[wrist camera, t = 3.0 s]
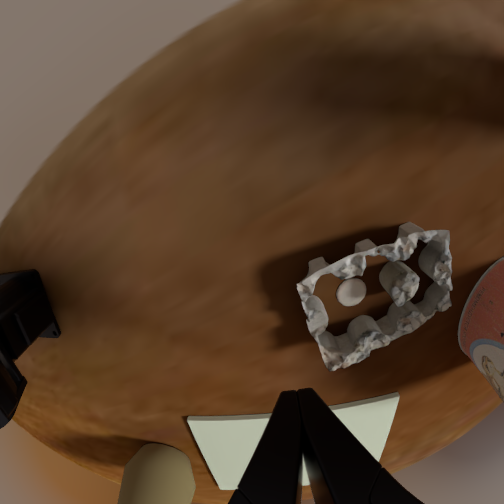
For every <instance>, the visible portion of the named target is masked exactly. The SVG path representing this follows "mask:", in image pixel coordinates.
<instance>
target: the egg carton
mask: <svg viewBox="0 0 504 504" xmlns="http://www.w3.org/2000/svg"><path fill="white" fill-rule="evenodd" d="M417 239H420V240H422V241H423V242H425V243H427V242H428V244H427V246H426V247H425V248H424V249H423V250H422V252H421V254H420V256H419V260H418V264H419V267H420V269H421V270H422V271H423V272H425V273H426V274H427V275H428V276H429V277H431V278H432V279H433V280H434V283H433V284H432V285H430V286H429V287H428V289H427V290H426V292H425V294H424V299H423V300H422V301H421V302H419V303H417V304H413V303H412V302H411V301H410V299H411V298H412V297H413V296H414V295H415V293H416V291H417V289H418V286H419V280H420V278H419V277H418V275H417V274H416V273H415V272H414V271H412V270H411V269H410V268H409V267H408V266H407V265H405V264H404V263H403V262H401V261H399V260H406V259H408V258H409V257H410V254H412V253H413V250H414V248H417ZM449 243H450V235H449V231H448V230H432V231H426V232H425V231H424V230H423V229H422V228H420V227H418V226H416V225H415V224H414V223H411V222H408V223H405V224H403V225H401V226H399V233H398V236H397V239H396V241H395V242H394V243H393V244H386V245H381V246H376V245H375V244H374V243H373V242H372V241H371V240H370V239H365V240H363V241H360V242H358V243H356V244H355V253H354V254H352V255H349V256H346V257H345V258H343V259H341V260H339V261H337V262H335V263H333V264H331V265H329V264H328V263H327V262H325V260H324V258H323V257H319V258H316V259H313V260H311V261H309V263H308V264H309V271H308V274H307V276H306V277H305V278H304V279H303V280H302V281H301V282H300V283H298V284H297V290H298V292H299V295H300V297H301V299H302V305H303V308H304V311H305V313H306V315H307V317H308V319H306V321H307V325H308V328H309V331H310V334H311V335H312V336H313V337H314V339H315V340H316V341H317V343H318V345H319V348H320V351H321V354H322V358H323V360H324V363H325V366H326V368H328V370H329V371H335V370H336V369H337V368H342V369H343V368H346V367H349V366H350V365H351V364H354V363H359V362H360V361H361V360H363V359H365V358H366V357H369V355H370V351H371V350H373V349H377V348H380V347H384V346H387V345H389V343H390V341H392V340H395V339H397V338H399V337H400V336H402V335H405V334H408V333H411V332H413V331H414V330H415V329H417V328H418V327H420V326H421V325H422V324H424V323H425V322H426V321H427V320H428V319H430V318H432V317H433V316H434V314H435V312H436V311H439V312H440V311H442V312H443V311H445V310H447V309H448V308H449V307H450V306H452V303H451V300H450V297H449V291H452V288H453V287H452V283H451V273H452V270H451V260H452V257H451V254H450V251H449ZM378 250H379V251H380V252H381V253H377V251H378ZM378 254H379V255H381V256H385V257H386V258H387V259H388V260H390V262H388V263H387V264H386V265H385V266H384V267H383V268H382V270H381V272H380V274H379V280H380V283H381V285H382V286H383V288H384V289H385V290H386V291H387V293H388V294H389V295H390V297H391V298H392V300H393V301H394V303H393V304H392V305H391V306H390V307H389V309H388V312H387V315H386V316H384V317H382V318H381V319H379V320H378V321H375V320H374V319H373V318H372V317H370V316H367V315H361V316H358V317H356V318H355V319H354V320H352V321H351V322H350V324H349V326H348V328H347V333H345V334H342V335H340V336H333V335H332V334H331V333H329V332H327V331H325V329H326V327H327V324H328V316H327V313H326V310H325V308H324V305H323V303H322V301H321V300H320V299H319V298H318V297H317V296H314V295H312V294H313V291H314V287H315V283H316V281H317V279H318V278H319V277H320V276H321V275H323V274H329V273H332V274H334V275H335V276H336V277H338V278H340V279H341V280H343V279H347V280H345V281H343V282H342V283H341V284H340V286H339V287H338V289H337V292H336V296H337V299H338V301H339V302H340V303H341V304H343V305H345V306H353V305H356V304H358V303H359V302H361V301H362V299H363V298H364V296H365V294H366V285H365V283H364V282H363V281H362V280H361V279H357V278H351V277H353V276H356V275H360V276H362V275H363V271H364V269H365V268H366V260H365V256H366V255H370V256H376V255H378ZM348 278H350V279H348Z"/></svg>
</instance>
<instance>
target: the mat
mask: <svg viewBox="0 0 504 504" xmlns="http://www.w3.org/2000/svg"><path fill="white" fill-rule="evenodd" d="M399 397H400V395H399V393H398V392H395V393H391V394H387V395H383V396H378V397H374V398H369V399H365V400H360V401H355V402H350V403H344V404H338V405H333V406H328V407H329V408H330V409H331V410H332V411H333V412H334V414H335V415H336V416H337V417H338V418H339V419H340V420H341V421H342V423H343V424H344V425H345V426H346V427H347V428H348V429H349V430H350V432H351V433H352V434H353V435H354V436H355V437H356V438H357V439H358V440H359V441H360V443H361V444H362V445H363V446H364V447H365V448H366V449H367V450H368V451H369V452H370V453H371V454H372V456H373V457H374V458H375V459H376V460H377V461H378V462H379V459H380V457H381V454H382V451H383V448H384V445H385V443H386V440H387V437H388V434H389V431H390V428H391V424H392V421H393V418H394V415H395V411H396V408H397V404H398V401H399ZM271 414H272V413H267V414H254V415H234V416H188V418H187V422H188V424H189V426H190V428H191V431H192V433H193V435H194V437H195V439H196V442H197V444H198V446H199V448H200V450H201V452H202V454H203V456H204V458H205V460H206V462H207V464H208V466H209V468H210V470H211V472H212V474H213V476H214V478H215V480H216V482H217V484H218V486H219V488H220V489H221V490H235V489H238V488H237V486H238V484H239V482H240V480H241V478H242V476H243V474H244V472H245V470H246V468H247V466H248V464H249V462H250V460H251V457H252V455H253V453H254V451H255V449H256V447H257V445H258V443H259V441H260V438H261V436H262V434H263V432H264V430H265V427H266V425H267V423H268V421H269V418H270V416H271ZM304 485H310V483H309V479H308V475H307V471H306V467H305V463H304V458H303V480H302V486H304Z"/></svg>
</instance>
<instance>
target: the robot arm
mask: <svg viewBox="0 0 504 504" xmlns="http://www.w3.org/2000/svg"><path fill="white" fill-rule="evenodd" d="M34 276H35V277H34ZM60 335H61V331H60V329H59V326H58V324H57V322H56V319H55V317H54V314H53V312H52V309H51V307H50V304H49V301H48V299H47V296H46V293H45V290H44V288H43V285H42V282H41V279H40V276H39V273H38V272H37V271H36V270H35V269H32V270H25V271H18V272H10V273H3V274H0V429H1V428H2V427H4V426H5V425H6V424H7V423H8V422H9V421H10V420H11V419H12V417H13V415H14V413H15V411H16V408H17V406H18V403H19V401H20V399H21V396H22V394H23V391H24V389H25V387H26V384H27V380H26V379H25V377H24V376H22V374H21V373H20V371H19V370H18V368H17V366H16V365H15V363H14V362H15V361H16V359H18V358H19V357H20V356H21V355H22V353H23V352H24V351H25V350H26V349H27V348H28V347H29V346H30V345H32V343H33V342H34V341H35V340H36V339H37V338H38V337H46V338H58V337H59V336H60ZM303 458H304V463H305V467H306V471H307V475H308V479H309V483H310V486H311V490H312V494H313V498H314V502H315V504H424V503H423V502H421V501H420V500H419V499H417V498H416V497H415V496H414V495H412V494H411V493H410V492H409V491H407V490H406V489H405V488H404V487H403V486H402V485H401V484H400V483H399V482H397V480H396V479H394V478H393V477H392V476H391V474H390V473H389V472H388V471H387V470H386V469H385V468H382V465H381V464H380V463H379V462H378V461H377V460H376V459H375V458H374V457H373V456H372V454H371V453H370V452H369V451H368V450H367V449H366V448H365V447H364V446H363V445H362V444H361V443H360V441H359V440H358V439H357V438H356V437H355V436H354V435H353V434H352V433H351V432H350V430H349V429H348V428H347V427H346V426H345V425H344V424H343V423H342V421H341V420H340V419H339V418H338V417H337V416H336V415H335V414H334V412H333V411H332V410H331V409H330V408H329V407H328V406H327V405H326V403H325V402H324V401H323V400H322V399H321V398H320V396H319V395H318V394H317V393H316V392H315V391H314V390H313V389H312V388H304V389H298V390H297V392H296V390H289V391H282V392H281V393H280V395H279V398H278V400H277V402H276V405H275V407H274V409H273V412H272V414H271V416H270V418H269V421H268V423H267V425H266V427H265V430H264V432H263V434H262V436H261V438H260V441H259V443H258V445H257V447H256V449H255V451H254V453H253V455H252V457H251V460H250V462H249V464H248V466H247V468H246V470H245V472H244V474H243V476H242V478H241V480H240V482H239V484H238V486H237V488H238V489H235V491H234V493H233V495H232V497H231V499H230V501H229V502H228V504H301V498H302V480H303Z"/></svg>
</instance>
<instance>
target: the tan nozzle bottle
mask: <svg viewBox="0 0 504 504" xmlns="http://www.w3.org/2000/svg"><path fill="white" fill-rule="evenodd" d="M195 488H196V486H195V482H194V477H193V473H192V468H191V464H190V460H189V458H188V457H187V456H186V455H185V454H184V453H183V452H181V451H179V450H177V449H176V448H173V447H170V446H167V445H164V444H156V443H152V444H146V445H144V446H142V447H141V448H140V450H139V451H138V452H137V453H136V454H135V455H134V456H133V457H132V458H131V459H130V460H129V462H128V463H127V464H126V465H125V469H124V474H123V479H122V484H121V489H120V494H119V499H118V504H191V501H192V498H193V494H194V491H195Z"/></svg>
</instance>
